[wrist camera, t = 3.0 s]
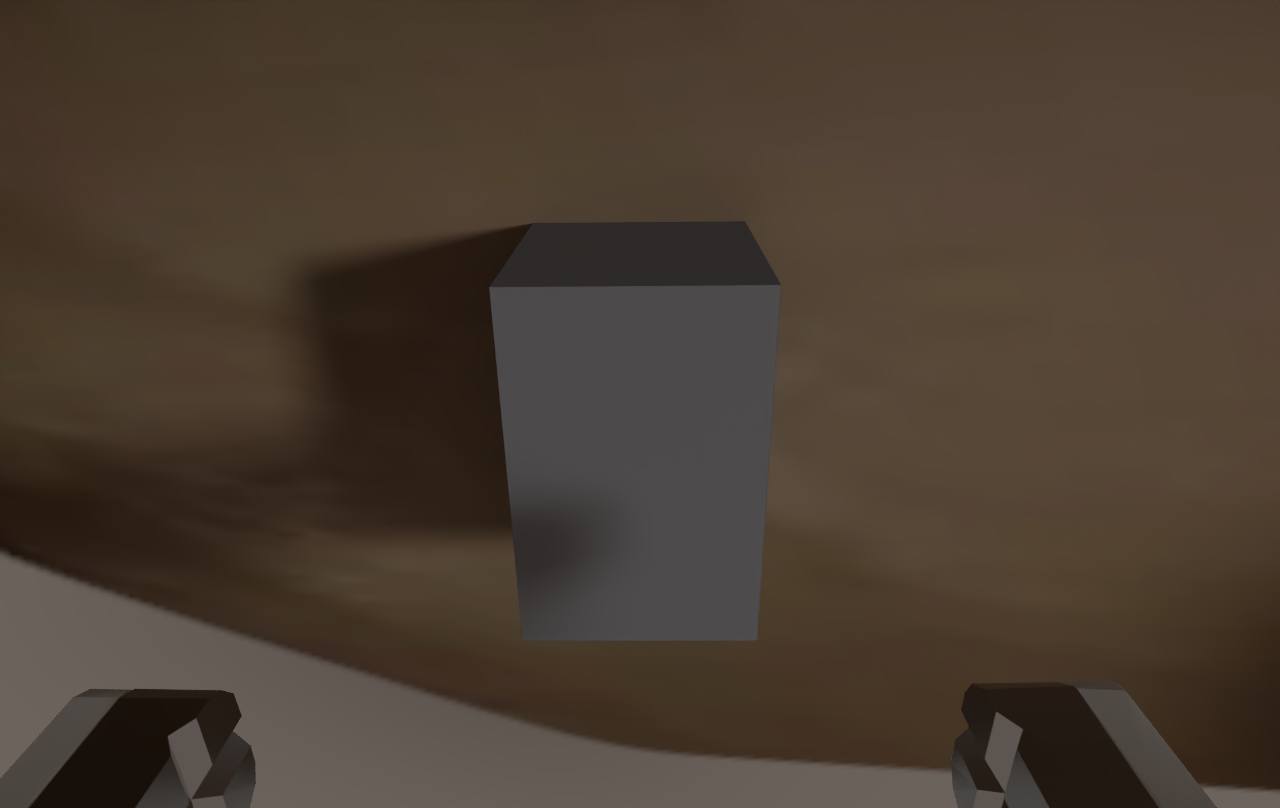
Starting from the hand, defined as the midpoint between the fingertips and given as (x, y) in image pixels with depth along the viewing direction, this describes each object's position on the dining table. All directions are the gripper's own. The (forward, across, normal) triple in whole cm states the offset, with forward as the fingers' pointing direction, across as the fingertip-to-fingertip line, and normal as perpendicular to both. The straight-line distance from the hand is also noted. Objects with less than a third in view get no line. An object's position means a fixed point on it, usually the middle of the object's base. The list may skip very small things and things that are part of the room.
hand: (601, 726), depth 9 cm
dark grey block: (+10, 0, 0) cm, 10 cm away
